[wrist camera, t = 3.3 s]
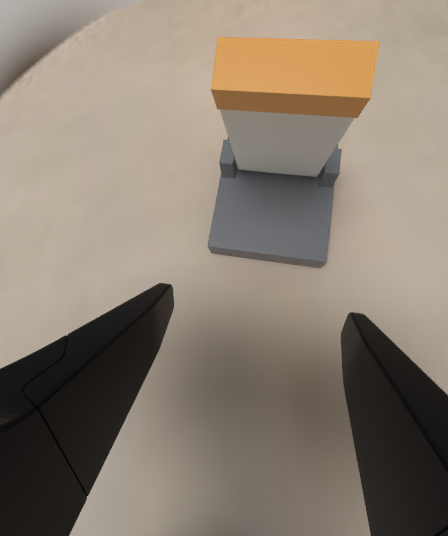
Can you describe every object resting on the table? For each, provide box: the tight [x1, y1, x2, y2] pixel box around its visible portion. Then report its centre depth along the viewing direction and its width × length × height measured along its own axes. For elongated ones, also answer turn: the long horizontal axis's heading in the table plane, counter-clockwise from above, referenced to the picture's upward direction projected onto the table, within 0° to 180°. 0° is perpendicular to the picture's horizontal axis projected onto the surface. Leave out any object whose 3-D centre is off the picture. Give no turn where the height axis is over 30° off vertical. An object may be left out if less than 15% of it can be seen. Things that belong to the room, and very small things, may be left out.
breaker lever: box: [211, 37, 380, 177], centre depth 17 cm, size 2×6×12 cm, turn 80°
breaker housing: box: [208, 137, 341, 268], centre depth 22 cm, size 10×9×4 cm
